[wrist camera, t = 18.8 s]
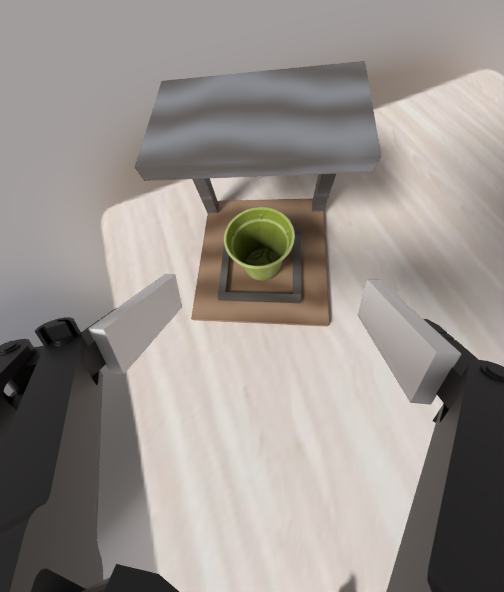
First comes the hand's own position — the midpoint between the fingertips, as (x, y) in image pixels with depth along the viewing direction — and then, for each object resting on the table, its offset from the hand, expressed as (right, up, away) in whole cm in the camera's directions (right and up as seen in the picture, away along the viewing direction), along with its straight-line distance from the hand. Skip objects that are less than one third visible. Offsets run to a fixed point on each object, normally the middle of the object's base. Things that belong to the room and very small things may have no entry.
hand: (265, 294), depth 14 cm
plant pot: (+1, +5, +21) cm, 21 cm away
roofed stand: (+1, +7, +22) cm, 24 cm away
